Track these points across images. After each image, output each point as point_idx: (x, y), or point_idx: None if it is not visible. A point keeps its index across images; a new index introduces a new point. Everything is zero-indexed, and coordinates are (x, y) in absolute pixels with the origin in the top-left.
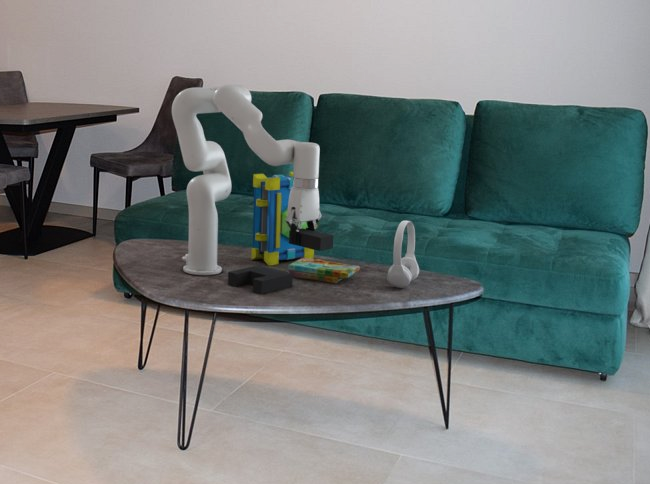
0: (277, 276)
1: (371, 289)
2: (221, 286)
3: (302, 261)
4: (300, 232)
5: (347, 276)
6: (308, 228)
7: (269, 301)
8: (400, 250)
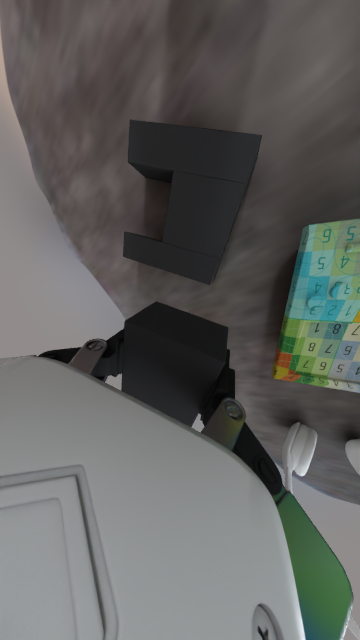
0: (169, 266)
1: (265, 393)
2: (128, 145)
3: None
4: (116, 374)
5: (272, 374)
6: (211, 397)
7: (119, 285)
8: None
